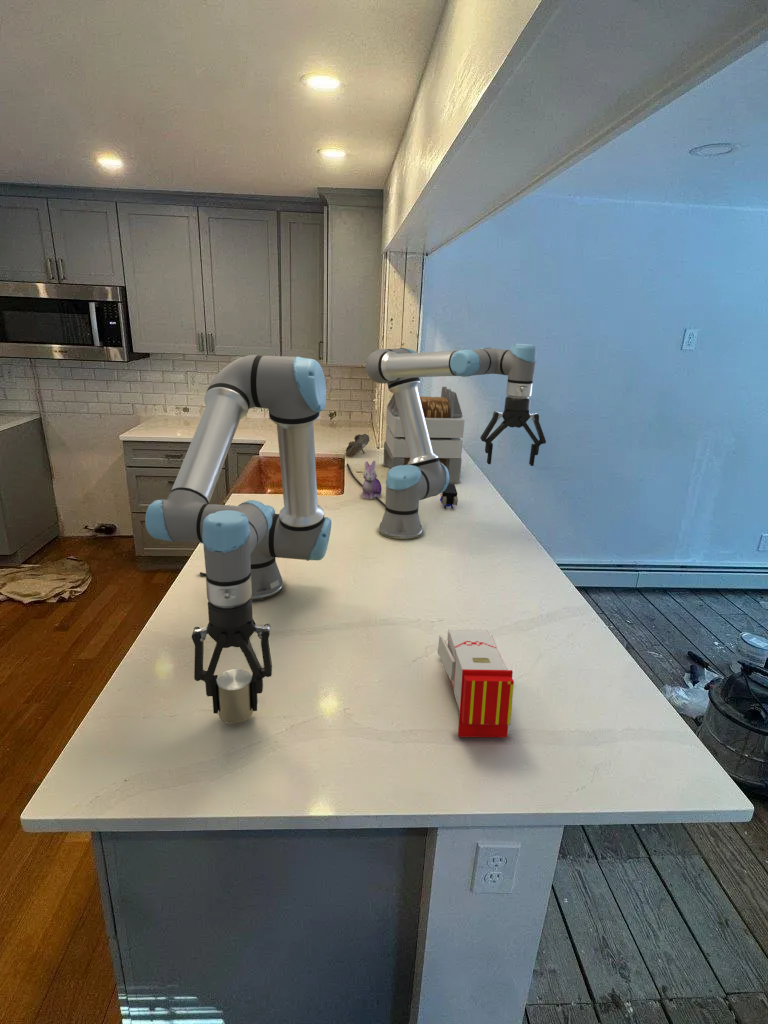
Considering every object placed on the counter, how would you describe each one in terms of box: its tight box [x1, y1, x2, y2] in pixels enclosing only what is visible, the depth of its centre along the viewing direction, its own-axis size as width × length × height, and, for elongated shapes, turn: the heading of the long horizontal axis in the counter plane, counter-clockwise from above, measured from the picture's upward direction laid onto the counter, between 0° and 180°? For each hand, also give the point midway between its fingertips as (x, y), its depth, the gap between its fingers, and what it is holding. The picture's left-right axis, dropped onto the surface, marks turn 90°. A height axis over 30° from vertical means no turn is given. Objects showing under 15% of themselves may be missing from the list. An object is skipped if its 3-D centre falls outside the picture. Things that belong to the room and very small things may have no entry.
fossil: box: [345, 433, 370, 458], centre depth 306 cm, size 22×10×15 cm
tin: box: [216, 668, 254, 725], centre depth 106 cm, size 6×6×8 cm
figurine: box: [361, 460, 383, 500], centre depth 235 cm, size 9×10×15 cm
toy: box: [437, 628, 515, 738], centre depth 117 cm, size 12×13×30 cm
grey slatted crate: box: [383, 386, 465, 484], centre depth 268 cm, size 34×33×41 cm
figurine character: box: [439, 483, 459, 510], centre depth 230 cm, size 7×8×15 cm
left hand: (235, 707), depth 107 cm, fingers closed on tin, 6 cm apart
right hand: (510, 464), depth 180 cm, fingers open, 13 cm apart
